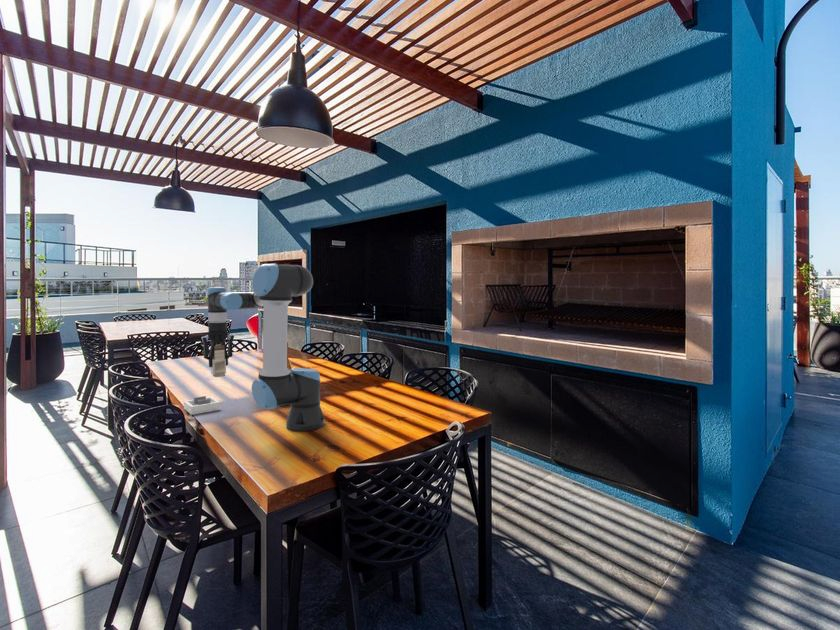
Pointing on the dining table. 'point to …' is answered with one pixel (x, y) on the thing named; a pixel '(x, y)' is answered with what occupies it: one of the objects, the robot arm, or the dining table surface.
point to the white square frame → (201, 405)
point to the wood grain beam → (219, 360)
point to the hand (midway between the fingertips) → (218, 373)
